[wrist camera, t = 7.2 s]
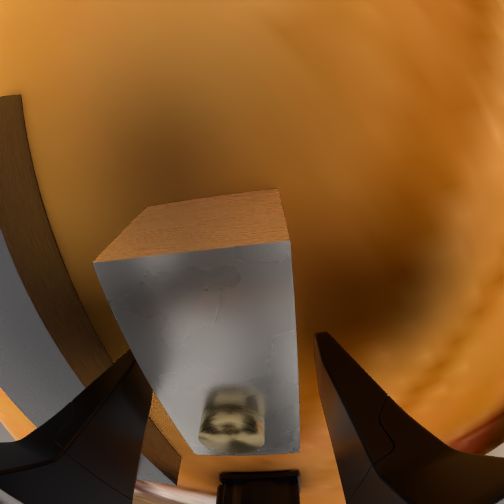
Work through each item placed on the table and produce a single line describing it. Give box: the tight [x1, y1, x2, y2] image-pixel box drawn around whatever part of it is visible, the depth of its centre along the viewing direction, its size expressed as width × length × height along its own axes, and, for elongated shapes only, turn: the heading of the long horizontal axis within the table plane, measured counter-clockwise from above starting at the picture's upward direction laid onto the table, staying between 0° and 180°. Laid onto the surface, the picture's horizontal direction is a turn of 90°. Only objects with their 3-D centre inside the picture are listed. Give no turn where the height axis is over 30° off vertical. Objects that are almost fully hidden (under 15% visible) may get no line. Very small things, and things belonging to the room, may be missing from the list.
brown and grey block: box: [92, 189, 300, 456], centre depth 9 cm, size 9×4×5 cm, turn 7°
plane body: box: [0, 95, 181, 486], centre depth 10 cm, size 24×9×6 cm, turn 8°
